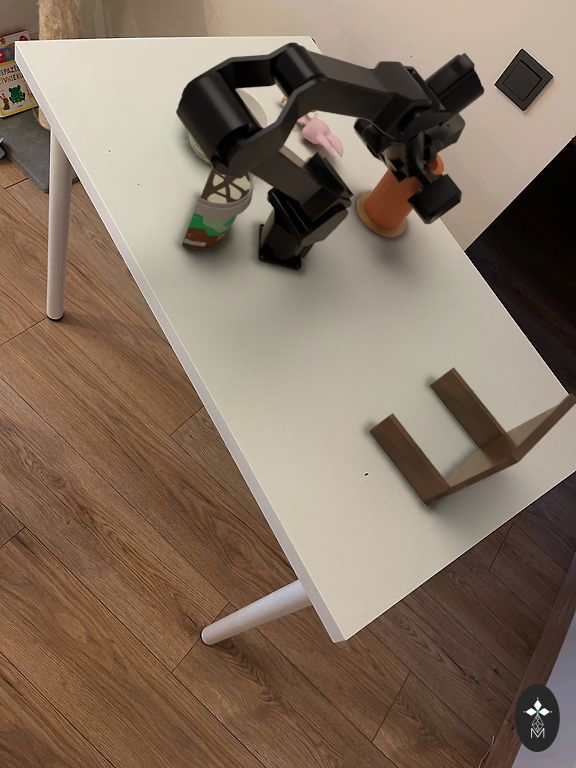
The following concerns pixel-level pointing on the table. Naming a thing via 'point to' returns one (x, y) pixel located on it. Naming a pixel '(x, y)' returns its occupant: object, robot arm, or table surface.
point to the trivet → (372, 225)
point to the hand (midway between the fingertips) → (410, 182)
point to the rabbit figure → (319, 133)
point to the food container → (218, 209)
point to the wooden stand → (481, 426)
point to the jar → (395, 197)
